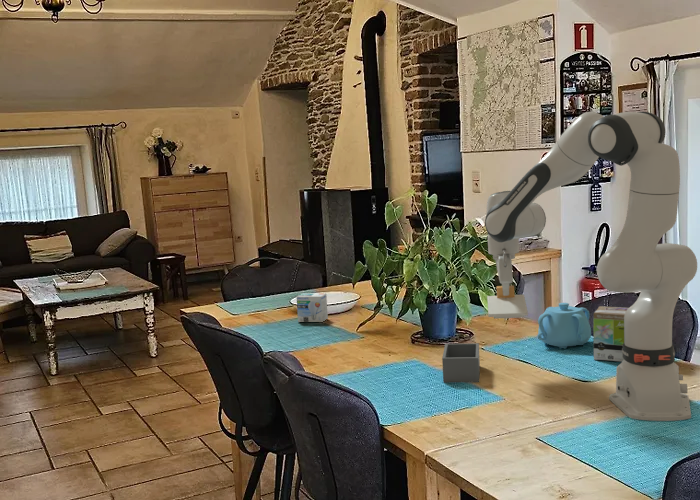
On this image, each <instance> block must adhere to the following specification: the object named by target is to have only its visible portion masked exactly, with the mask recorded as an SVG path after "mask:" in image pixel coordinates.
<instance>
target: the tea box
mask: <svg viewBox="0 0 700 500" xmlns="http://www.w3.org/2000/svg"><path fill="white" fill-rule="evenodd" d="M628 308H629V307H622V306H621V307H620V306H619V307H618V306H600V305H599V306H598V308H597V309H596V310H595V311H594V312H593V329H592V331H593V335H592V336H593V346H592V347H593V361H595V360H596V361H611V362H620V363H622V361H623V353H622V348H623V343H624V315H625V313H626V311H627V309H628Z"/></svg>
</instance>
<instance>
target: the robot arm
mask: <svg viewBox="0 0 700 500" xmlns="http://www.w3.org/2000/svg"><path fill="white" fill-rule="evenodd" d="M665 137H666V127H665V123H664V121H663V120H662V119H661V117H659V116H658V115H656V114H654V113H652V112H648V111H636V112H635V111H631V112H630V111H623V112H619V113H614V114H607V115H605V116H604V115H602V114H600V113H598V112H594V111H586V112H583V113H582V114H580V115H579V116H578V117H576V119H575V120H574V121H573V122H571V124H569V126H568V127H567V128H566V129H565V130H564V131H563V132H562V133H561V135H560V137H559V138H558V139H557V141H556V142H555V143H554V144H553V146H552V147H551V148H550V149H549V150H548V152H547V153H546V154H545V155H544V156H543V157H542V158H541V159H540V160H538V162H537V163H536V164H535V165H533V166H532V168H531V169H529V170H528V171H527V172H526V173H525V174H524V175H523V177H521V178H520V180H519V181H518V182H517V184H516V185H515V186H514V187H513V188H512V189H511V190H504V191H498V192H494V193H491V194H490V195H489V196H488V198H487V201H486V216H485V219H484V226H485V230H486V232H487V247H488V248H487V251H488V254H489V255H492V259H493V260H494V261H495V266H496V270H497V275H498V280H499V283H500V284H501V286H502V288H503V295H504V296H508V295H509V286H510V284H512V283H514V282H513V277H514V276H513V261H512V260H514V259H516V254H519V253H520V241H519V239H522V238H523V239H524V238H528V237H534V236H537V235H539V234H541V233H542V232H543V230H544V229H545V226H546V222H547V220H546V219H547V217H546V213H545V210H544V209H543V207H542V206H541V205H540V204H538V203H535V202H534V201H535V200H537V198H539V197H540V196H541V195H543V194H544V193H546V192H548V191H550V190H551V191H552V190H554V189H556V188H559V187H562V186H566V185H569V184H573V183H575V182H577V181H579V180H580V179H581V178H582V177H583V176H585V175H586V174H587V173H588V172H589V171H590V170H591V168H592V167H593V166H594V165H595V163H596V162H597V161H598V159H599V158H600V159H603V160H607V161H610V162H611V163H613V164H616V165H617V166H625V165H627V166H628V168H629V171H630V182H629V191H628V192H629V193H628V195H629V196H628V203H627V210H626V217H625V221H624V224H623V227H622V230H621V232H620V234H619V235H618V237H617V239H616V240H615V242H614V244H613V245H611V247H610V248H609V249H608V250H607V251H606V252H604V253H603V254H602V255H601V256H600V258H599V260H598V263H597V265H596V266H597V267H596V274H597V278H598V281H599V282H600V284H601V285H602V287H603V288H604V289H605V290H607V291H609V292H614V293H615V292H616V293H624V294H629V293H636V292H640V293H639V296H638V297H637V299H636V301H635V302H634V303H633V304H632V305H630V307H627V308H628V309H627V311H626V313H625V315H624V343H623V348H622V353H623V361H622V362H620V363H619V364H618V366H616V372H615V373H616V374H615V375H616V376H615V378H616V380H615V392H614V393H611V394H609V396H608V400H609V401H611V402H612V404H613V405H615V406H616V407H617V408H618V409H619V410H620V411H621V412H623V413H624V415H626V416H627V417H628V418H630V419H634V420H642V421H652V422H653V421H654V422H655V421H656V422H667V421H668V422H669V421H673V422H674V421H683V420H688V419H691V418H692V413H691V412H692V411H691V404H690V399H689V395H688V391H689V390H688V384H687V383H680V381H684V375H683V374H679V373H680V370H679V369H680V366H679V365H678V364H676V363H675V361H676V360H675V359H676V358H675V357H676V356H675V354H676V352H675V351H676V350H675V349H674V348H675V347H674V345H673V317H674V312H675V308H676V304H677V302H678V300H679V298H680V296H681V293H682V292H683V290H684V289H685V287H686V286H687V285H688V284H689V283H690V282H691V281H692V280H693V279H694V278H695V277H696V275H697V272H698V259H697V257H696V254H695V253H694V251H693V250H692V249H691V247H689V246H687V245H685V244H679V243H671V242H670V243H669V242H665V243H659V242H660V240H661V238H662V237H663V236H664V235H665V234H666V233H668V232H669V231H670V230H672V228H674V226H675V224H676V222H677V218H678V217H677V216H678V215H677V214H678V208H679V207H678V206H679V197H680V196H679V195H680V185H681V183H680V182H681V172H680V171H681V169H680V160H679V159H680V158H679V153H678V152H677V150H676V149H675V148H674V147H672V146H671V145H669V144H667V143H666V144H665V143H664V140H665Z"/></svg>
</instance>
